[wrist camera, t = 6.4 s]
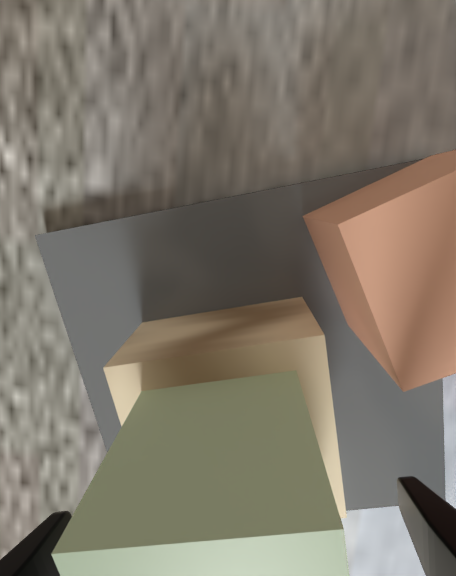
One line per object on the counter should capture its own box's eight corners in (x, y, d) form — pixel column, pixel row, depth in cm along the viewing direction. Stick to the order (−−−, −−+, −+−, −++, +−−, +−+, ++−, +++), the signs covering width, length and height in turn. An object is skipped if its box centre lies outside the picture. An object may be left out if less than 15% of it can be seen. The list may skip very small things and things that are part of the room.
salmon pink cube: (430, 156, 12) (557, 123, 7) (467, 276, 13) (600, 321, 8) (302, 215, 13) (337, 224, 8) (347, 325, 14) (403, 391, 9)
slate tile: (425, 159, 13) (436, 156, 12) (435, 487, 16) (445, 501, 16) (46, 233, 14) (34, 235, 13) (138, 516, 18) (133, 530, 17)
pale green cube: (296, 370, 10) (344, 529, 5) (314, 498, 11) (366, 724, 6) (141, 391, 10) (50, 554, 6) (175, 512, 12) (125, 731, 7)
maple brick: (301, 296, 13) (324, 334, 10) (321, 437, 15) (346, 517, 11) (141, 322, 14) (103, 367, 10) (177, 454, 16) (155, 535, 12)
